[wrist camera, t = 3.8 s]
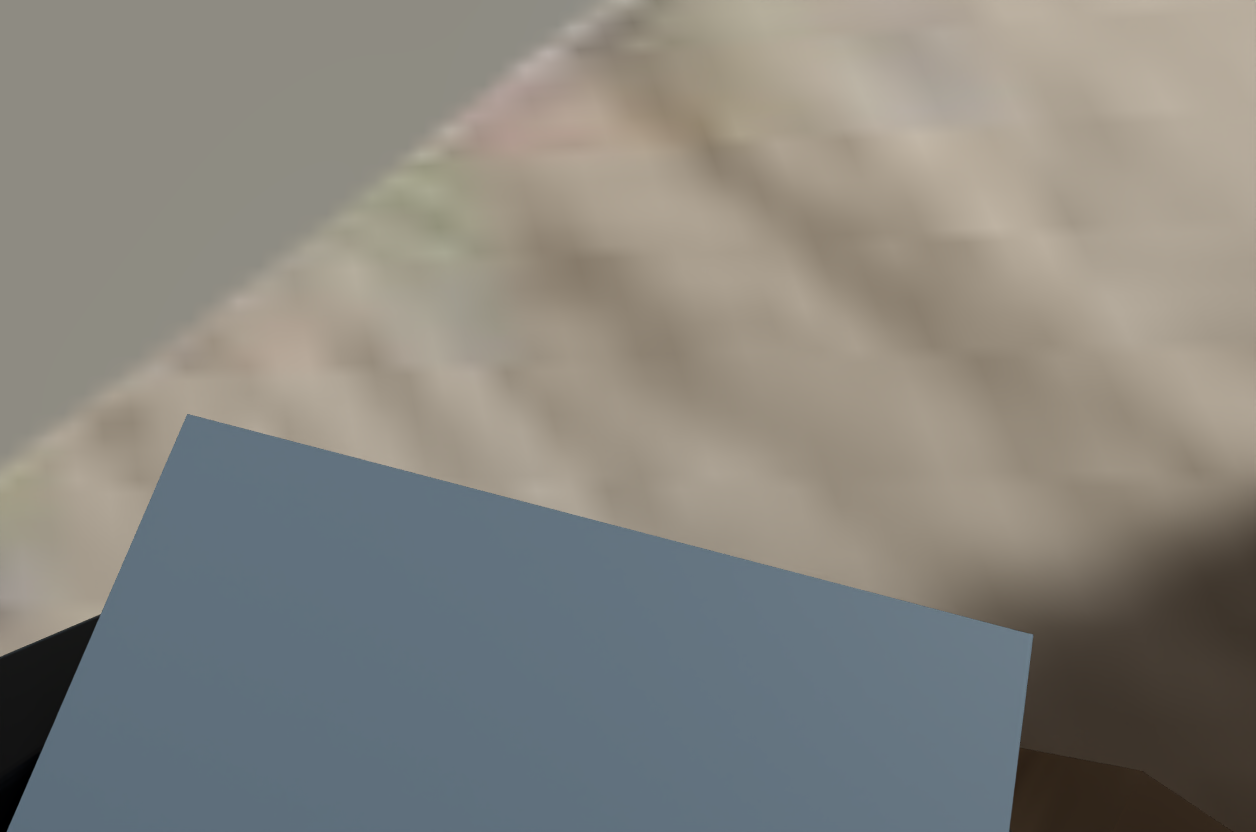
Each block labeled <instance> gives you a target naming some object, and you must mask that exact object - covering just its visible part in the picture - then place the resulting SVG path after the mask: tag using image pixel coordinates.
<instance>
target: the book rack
mask: <svg viewBox="0 0 1256 832" xmlns="http://www.w3.org/2000/svg"><path fill="white" fill-rule="evenodd" d="M1010 829H1011V830H1012V832H1233V831H1231V830H1230V829H1228V828H1227V827H1225V826H1224V825H1222V824H1221V823H1219V822H1218V821H1216V820H1215V819H1213V818H1212V817H1210V816H1209V815H1207V814H1206V813H1204V812H1203V811H1201V810H1200V809H1198V808H1197V807H1195V806H1194V805H1192V804H1191V803H1189V802H1188V801H1186V800H1185V799H1183V798H1182V797H1180V796H1179V795H1177V794H1176V793H1174V792H1173V791H1171V790H1170V789H1168V788H1167V787H1165V786H1164V785H1162V784H1161V783H1159V782H1158V781H1156V780H1155V779H1153V778H1152V777H1150V776H1149V775H1147V774H1146V773H1144V772H1143V771H1139V770H1134V769H1129V768H1123V767H1118V766H1113V765H1108V764H1102V763H1097V762H1092V761H1086V760H1081V759H1076V758H1071V757H1065V756H1060V755H1055V754H1049V753H1044V752H1039V751H1034V750H1028V749H1023V748H1019V755H1018V763H1017V771H1016V779H1015V787H1014V795H1013V803H1012V811H1011V820H1010Z"/></svg>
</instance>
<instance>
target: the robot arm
mask: <svg viewBox="0 0 1256 832" xmlns="http://www.w3.org/2000/svg"><path fill="white" fill-rule="evenodd" d="M100 615H101V614H100ZM100 615H98V616H95V617H93V618H91V619H88V620H86V621H84V622H81V623H79V624H76V625H74V626H72V627H69V628H67V629H65V630H62V631H60V632H58V633H55V634H53V635H51V636H48V637H46V638H43V639H41V640H39V641H36V642H34V643H32V644H29V645H27V646H25V647H22V648H20V649H17V650H15V651H13V652H10V653H8V654H6V655H3V656H1V657H0V832H7V830H8V828H9V826H10V823H11V821H12V819H13V816H14V814H15V812H16V809H17V807H18V805H19V802H20V800H21V798H22V796H23V793H24V791H25V789H26V786H27V784H28V782H29V779H30V777H31V775H32V772H33V770H34V768H35V765H36V763H37V761H38V759H39V756H40V754H41V752H42V749H43V747H44V745H45V742H46V740H47V738H48V735H49V733H50V731H51V728H52V726H53V724H54V722H55V719H56V717H57V715H58V712H59V710H60V708H61V705H62V703H63V701H64V698H65V696H66V694H67V691H68V689H69V687H70V685H71V682H72V680H73V678H74V675H75V673H76V671H77V668H78V666H79V664H80V661H81V659H82V657H83V654H84V652H85V650H86V648H87V645H88V643H89V641H90V638H91V636H92V634H93V631H94V629H95V627H96V624H97V622H98V620H99V617H100ZM1009 832H1012V830H1011V829H1010V828H1009Z"/></svg>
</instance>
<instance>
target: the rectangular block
mask: <svg viewBox="0 0 1256 832" xmlns="http://www.w3.org/2000/svg"><path fill="white" fill-rule="evenodd" d="M1032 641H1033V635H1032V634H1028V633H1025V632H1021V631H1017V630H1013V629H1009V628H1005V627H1002V626H998V625H994V624H990V623H986V622H982V621H979V620H975V619H971V618H967V617H963V616H959V615H956V614H952V613H948V612H944V611H940V610H937V609H933V608H929V607H925V606H921V605H917V604H914V603H910V602H906V601H902V600H898V599H894V598H891V597H887V596H883V595H879V594H875V593H871V592H868V591H864V590H860V589H856V588H852V587H848V586H845V585H841V584H837V583H833V582H829V581H825V580H822V579H818V578H814V577H810V576H806V575H802V574H799V573H795V572H791V571H787V570H783V569H779V568H776V567H772V566H768V565H764V564H760V563H756V562H753V561H749V560H745V559H741V558H737V557H733V556H730V555H726V554H722V553H718V552H714V551H710V550H707V549H703V548H699V547H695V546H691V545H687V544H684V543H680V542H676V541H672V540H668V539H664V538H661V537H657V536H653V535H649V534H645V533H641V532H638V531H634V530H630V529H626V528H622V527H618V526H615V525H611V524H607V523H603V522H599V521H595V520H592V519H588V518H584V517H580V516H576V515H572V514H569V513H565V512H561V511H557V510H553V509H549V508H546V507H542V506H538V505H534V504H530V503H527V502H523V501H519V500H515V499H511V498H507V497H504V496H500V495H496V494H492V493H488V492H484V491H481V490H477V489H473V488H469V487H465V486H461V485H458V484H454V483H450V482H446V481H442V480H438V479H435V478H431V477H427V476H423V475H419V474H415V473H412V472H408V471H404V470H400V469H396V468H392V467H389V466H385V465H381V464H377V463H373V462H369V461H366V460H362V459H358V458H354V457H350V456H346V455H343V454H339V453H335V452H331V451H327V450H323V449H320V448H316V447H312V446H308V445H304V444H300V443H297V442H293V441H289V440H285V439H281V438H277V437H274V436H270V435H266V434H262V433H258V432H254V431H251V430H247V429H243V428H239V427H235V426H231V425H228V424H224V423H220V422H216V421H212V420H208V419H205V418H201V417H197V416H193V415H189V414H187V416H186V419H185V421H184V423H183V425H182V428H181V430H180V432H179V435H178V437H177V439H176V442H175V444H174V446H173V449H172V451H171V453H170V456H169V458H168V460H167V462H166V465H165V467H164V469H163V472H162V474H161V476H160V479H159V481H158V483H157V486H156V488H155V490H154V493H153V495H152V497H151V499H150V502H149V504H148V506H147V509H146V511H145V513H144V516H143V518H142V520H141V523H140V525H139V527H138V530H137V532H136V534H135V536H134V539H133V541H132V543H131V546H130V548H129V550H128V553H127V555H126V557H125V560H124V562H123V564H122V567H121V569H120V571H119V573H118V576H117V578H116V580H115V583H114V585H113V587H112V590H111V592H110V594H109V597H108V599H107V601H106V604H105V606H104V608H103V610H102V613H101V615H100V617H99V620H98V622H97V624H96V627H95V629H94V631H93V634H92V636H91V638H90V641H89V643H88V645H87V648H86V650H85V652H84V654H83V657H82V659H81V661H80V664H79V666H78V668H77V671H76V673H75V675H74V678H73V680H72V682H71V685H70V687H69V689H68V691H67V694H66V696H65V698H64V701H63V703H62V705H61V708H60V710H59V712H58V715H57V717H56V719H55V722H54V724H53V726H52V728H51V731H50V733H49V735H48V738H47V740H46V742H45V745H44V747H43V749H42V752H41V754H40V756H39V759H38V761H37V763H36V765H35V768H34V770H33V772H32V775H31V777H30V779H29V782H28V784H27V786H26V789H25V791H24V793H23V796H22V798H21V800H20V802H19V805H18V807H17V809H16V812H15V814H14V816H13V819H12V821H11V823H10V826H9V828H8V830H7V832H1009V828H1010V820H1011V811H1012V803H1013V795H1014V787H1015V779H1016V771H1017V763H1018V755H1019V747H1020V739H1021V730H1022V722H1023V714H1024V706H1025V698H1026V690H1027V682H1028V674H1029V666H1030V658H1031V650H1032Z"/></svg>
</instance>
